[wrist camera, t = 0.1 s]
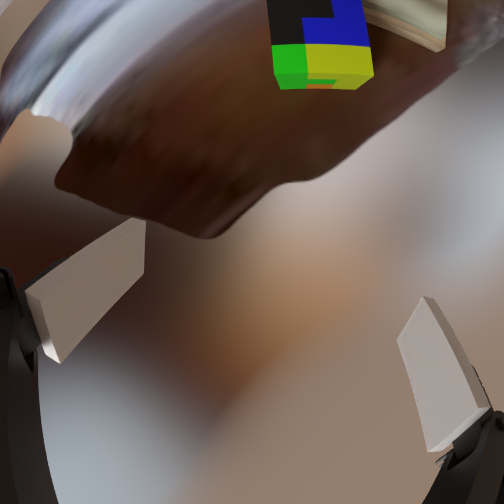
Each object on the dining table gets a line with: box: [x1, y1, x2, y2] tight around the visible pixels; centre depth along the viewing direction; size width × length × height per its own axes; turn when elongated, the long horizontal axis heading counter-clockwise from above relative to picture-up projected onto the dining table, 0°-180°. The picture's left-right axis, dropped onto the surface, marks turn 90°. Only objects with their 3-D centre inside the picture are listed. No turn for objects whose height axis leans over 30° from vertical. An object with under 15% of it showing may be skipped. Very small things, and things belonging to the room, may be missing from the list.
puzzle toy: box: [267, 0, 374, 90], centre depth 25 cm, size 10×10×10 cm
